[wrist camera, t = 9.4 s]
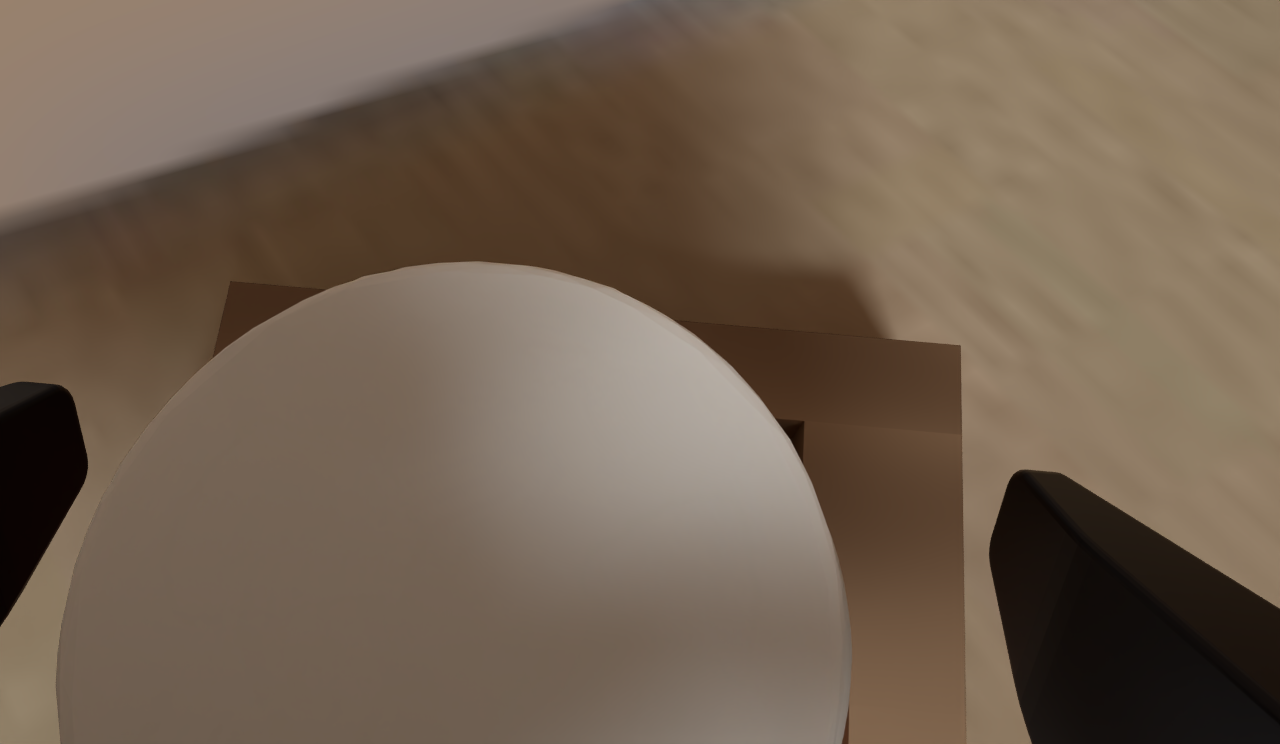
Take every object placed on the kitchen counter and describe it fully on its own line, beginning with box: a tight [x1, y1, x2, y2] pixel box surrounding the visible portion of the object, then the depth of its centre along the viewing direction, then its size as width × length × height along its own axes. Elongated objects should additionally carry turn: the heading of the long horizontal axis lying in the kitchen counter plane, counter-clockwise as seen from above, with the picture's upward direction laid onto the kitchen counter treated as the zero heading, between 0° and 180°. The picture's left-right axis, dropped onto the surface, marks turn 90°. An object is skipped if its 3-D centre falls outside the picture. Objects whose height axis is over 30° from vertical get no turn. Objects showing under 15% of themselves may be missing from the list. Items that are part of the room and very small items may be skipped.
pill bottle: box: [56, 261, 852, 744], centre depth 11 cm, size 6×6×11 cm
